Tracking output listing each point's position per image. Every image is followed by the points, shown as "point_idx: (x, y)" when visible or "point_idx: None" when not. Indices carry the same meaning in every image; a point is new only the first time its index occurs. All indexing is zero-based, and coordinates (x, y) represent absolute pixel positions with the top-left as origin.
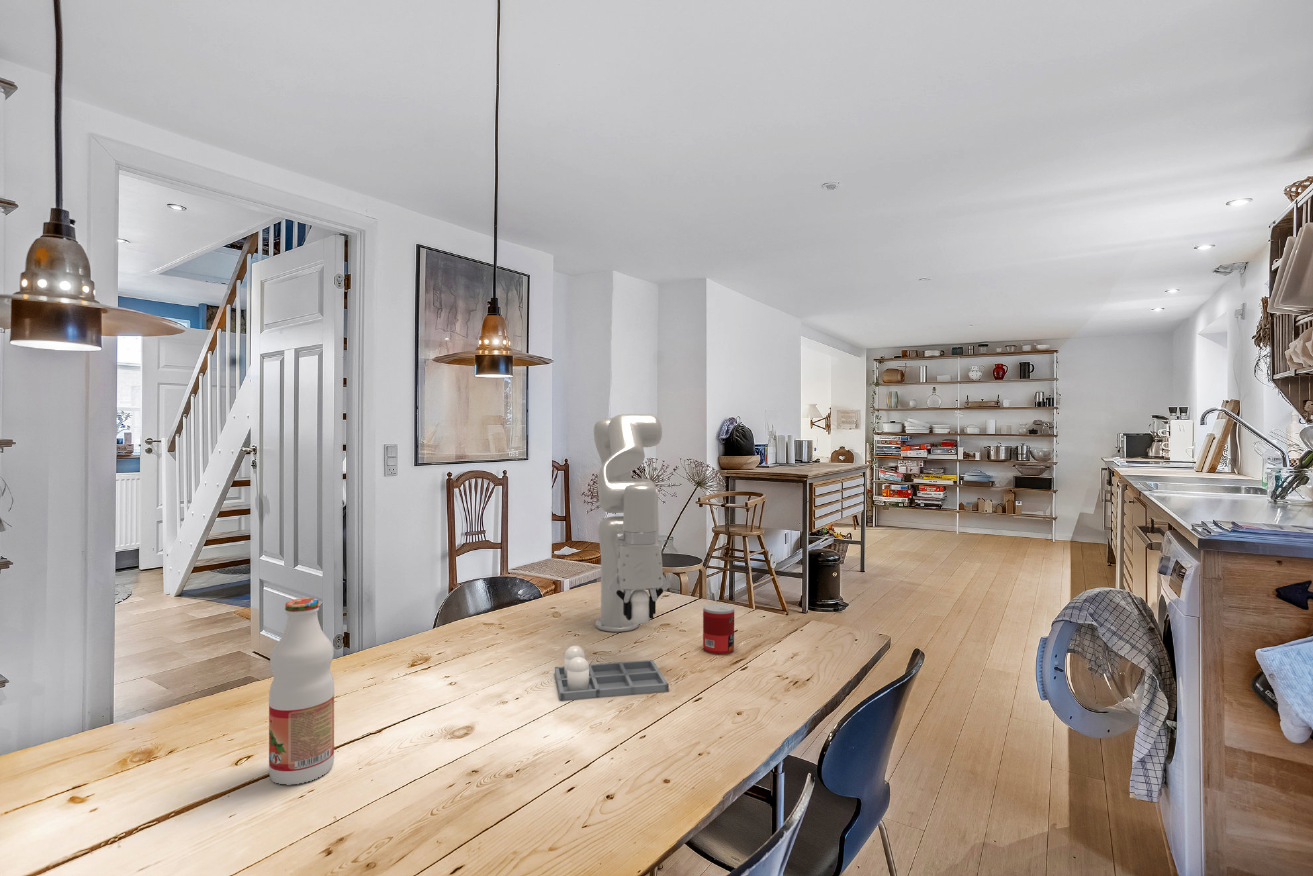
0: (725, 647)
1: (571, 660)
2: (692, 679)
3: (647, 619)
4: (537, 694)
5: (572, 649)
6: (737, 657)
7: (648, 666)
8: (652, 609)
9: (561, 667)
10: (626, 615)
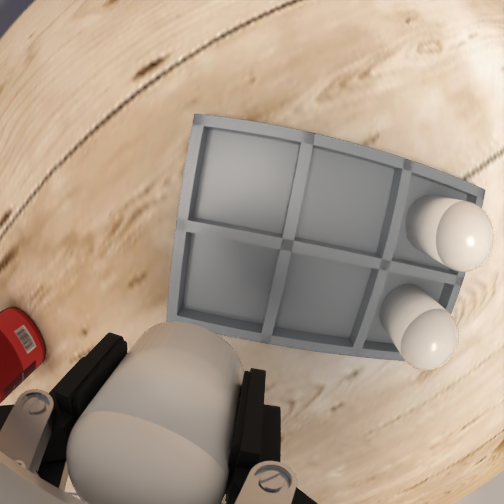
0: (6, 312)
1: (492, 245)
2: (104, 194)
3: (144, 336)
4: (488, 260)
5: (452, 339)
6: (2, 281)
7: (185, 310)
8: (87, 361)
9: None
10: (264, 405)
